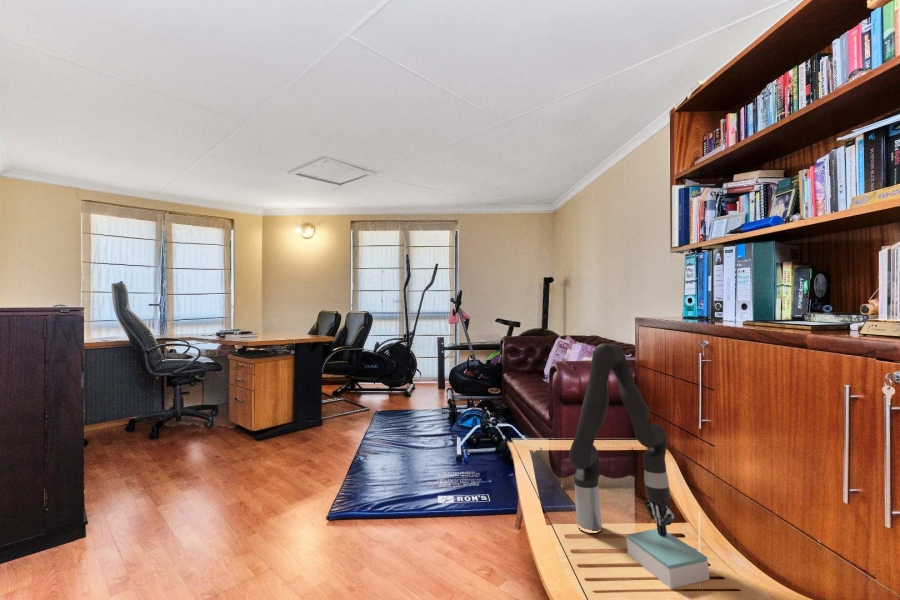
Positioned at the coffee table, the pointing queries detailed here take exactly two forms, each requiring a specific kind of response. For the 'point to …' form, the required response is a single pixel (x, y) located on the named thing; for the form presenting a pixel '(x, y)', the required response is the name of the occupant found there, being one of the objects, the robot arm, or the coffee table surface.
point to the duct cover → (666, 548)
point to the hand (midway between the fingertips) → (662, 535)
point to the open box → (669, 576)
